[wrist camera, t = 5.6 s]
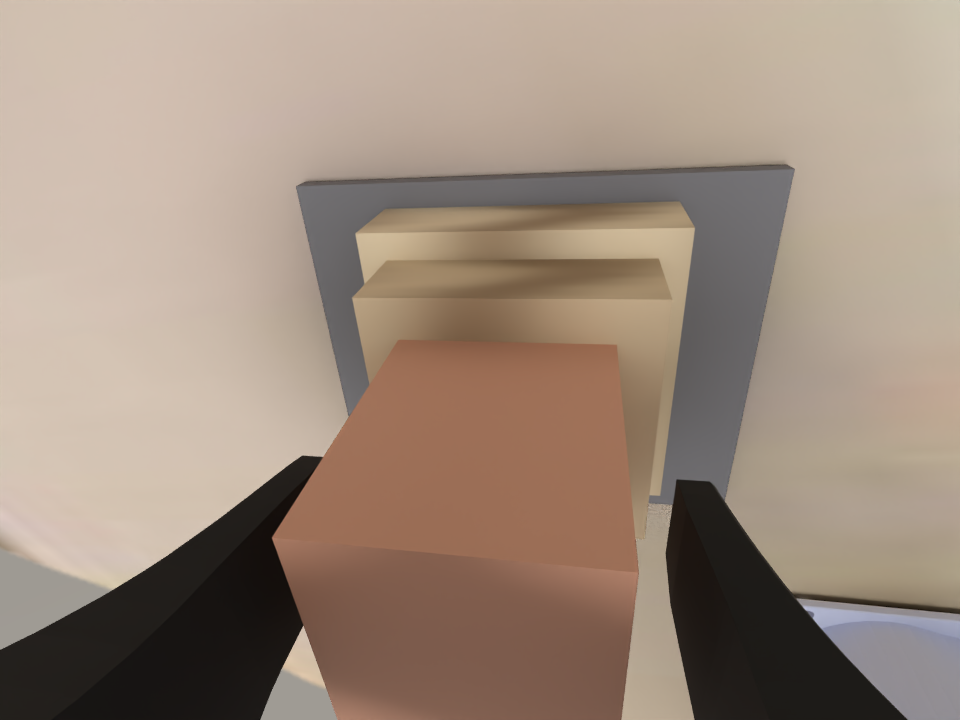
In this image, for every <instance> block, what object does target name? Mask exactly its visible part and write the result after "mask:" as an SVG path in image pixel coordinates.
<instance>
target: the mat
mask: <svg viewBox="0 0 960 720" xmlns="http://www.w3.org/2000/svg"><path fill="white" fill-rule="evenodd" d="M794 170H795V169H793V168H792V167H790V166H788V165H768V166H740V167H712V168H684V169H656V170H628V171H600V172H572V173H544V174H516V175H488V176H460V177H432V178H404V179H376V180H348V181H320V182H304V183H302V184H300V185H298V186H296V189H297V193H298V198H299V202H300V206H301V211H302V215H303V219H304V224H305V228H306V232H307V237H308V241H309V245H310V250H311V254H312V259H313V263H314V267H315V272H316V276H317V280H318V285H319V289H320V293H321V298H322V302H323V306H324V311H325V315H326V319H327V324H328V328H329V333H330V337H331V341H332V346H333V350H334V354H335V359H336V363H337V367H338V372H339V376H340V380H341V385H342V389H343V393H344V398H345V402H346V407H347V411H348V415H349V416H350V415H351V413H352V411H353V410H354V408H355V407H356V405H357V404H358V402H359V401H360V399H361V397H362V396H363V394H364V393H365V391H366V390H367V388H368V386H369V380H368V375H367V370H366V365H365V360H364V355H363V350H362V345H361V340H360V335H359V330H358V325H357V320H356V315H355V310H354V305H353V300H352V297H353V296H354V295H355V294H356V293H357V292H358V291H359V290H360V289H361V288H362V287H363V285H364V278H363V273H362V267H361V262H360V256H359V251H358V246H357V240H356V235H355V233H356V232H358V231H359V230H360V229H361V228H363V227H364V226H365V225H366V224H367V223H369V222H370V221H371V220H372V219H374V218H375V217H376V216H377V215H378V214H380V213H381V212H382V211H383V210H385V209H399V208H439V207H478V206H518V205H557V204H596V203H636V202H675V201H680V203H681V204H682V206H683V208H684V210H685V211H686V213H687V215H688V216H689V218H690V220H691V222H692V223H693V225H694V227H695V232H694V240H693V247H692V255H691V263H690V270H689V278H688V286H687V293H686V301H685V309H684V316H683V324H682V332H681V339H680V347H679V355H678V362H677V370H676V378H675V385H674V393H673V401H672V408H671V416H670V424H669V431H668V439H667V447H666V454H665V462H664V470H663V477H662V485H661V493H660V496H655V495H649V503H655V504H669V505H673V500H674V493H675V487H676V480H677V479H680V480H696V481H710V482H711V483H712V484H713V485H714V486H715V487H716V488H717V490H718V492H719V493H720V495H721V496H722V498H723V499H724V501H725V497H726V492H727V487H728V482H729V478H730V473H731V468H732V463H733V459H734V454H735V449H736V445H737V440H738V435H739V430H740V426H741V421H742V416H743V411H744V407H745V402H746V397H747V392H748V388H749V383H750V378H751V373H752V369H753V364H754V359H755V354H756V350H757V345H758V340H759V336H760V331H761V326H762V321H763V317H764V312H765V307H766V302H767V298H768V293H769V288H770V283H771V279H772V274H773V269H774V264H775V260H776V255H777V250H778V246H779V241H780V236H781V231H782V227H783V222H784V217H785V212H786V208H787V203H788V198H789V193H790V189H791V184H792V179H793V174H794Z"/></svg>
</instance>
